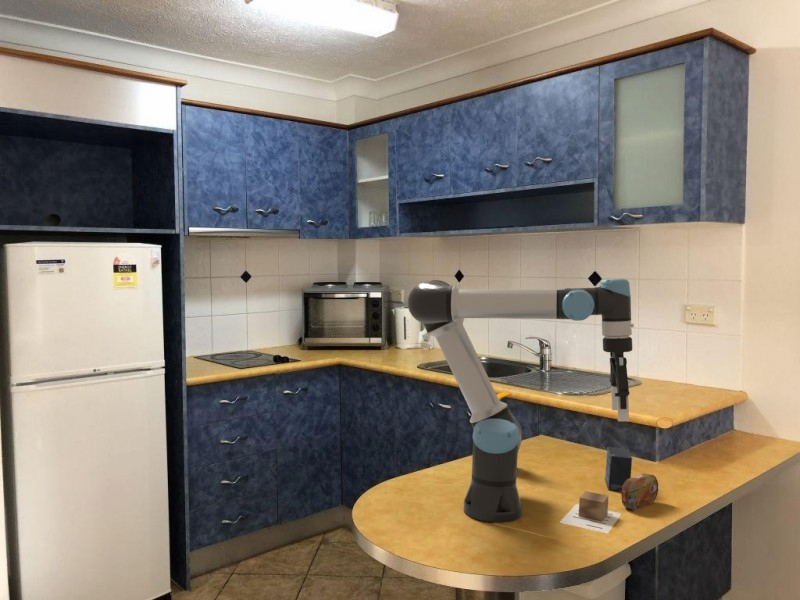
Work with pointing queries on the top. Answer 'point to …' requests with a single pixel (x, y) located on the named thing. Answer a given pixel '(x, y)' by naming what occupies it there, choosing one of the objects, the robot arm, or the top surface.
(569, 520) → the letter
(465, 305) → the robot arm
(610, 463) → the small box
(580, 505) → the walnut block
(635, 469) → the top surface
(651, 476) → the tin
